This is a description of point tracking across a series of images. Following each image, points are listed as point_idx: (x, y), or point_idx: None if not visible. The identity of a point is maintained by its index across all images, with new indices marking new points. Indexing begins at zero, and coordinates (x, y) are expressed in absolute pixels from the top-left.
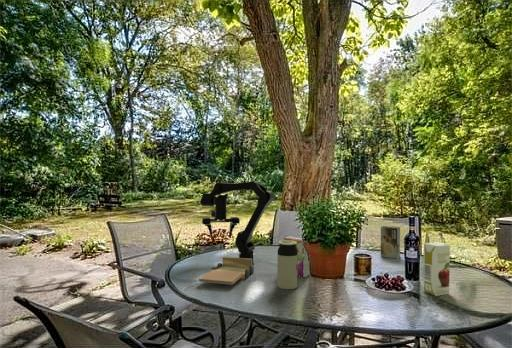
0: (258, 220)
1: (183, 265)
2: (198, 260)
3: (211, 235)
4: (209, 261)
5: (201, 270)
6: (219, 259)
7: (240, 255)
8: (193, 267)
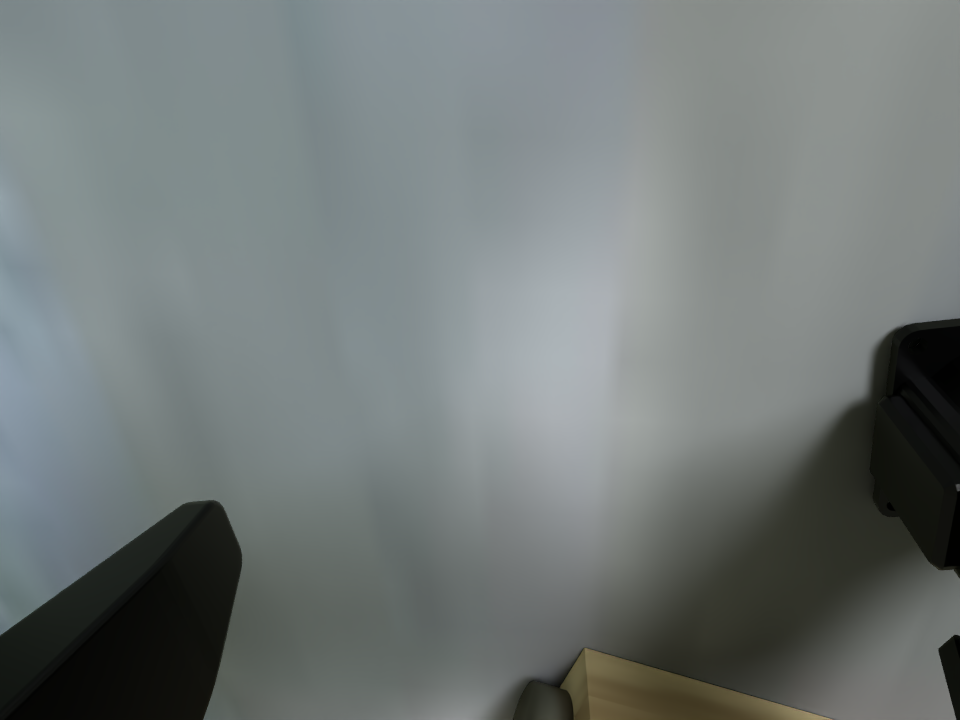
0: None
1: (3, 448)
2: (118, 141)
3: (191, 670)
4: (346, 230)
5: (318, 657)
6: (534, 66)
7: (944, 567)
8: None
